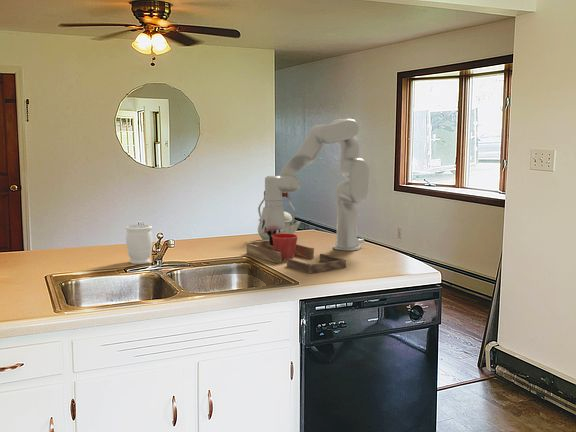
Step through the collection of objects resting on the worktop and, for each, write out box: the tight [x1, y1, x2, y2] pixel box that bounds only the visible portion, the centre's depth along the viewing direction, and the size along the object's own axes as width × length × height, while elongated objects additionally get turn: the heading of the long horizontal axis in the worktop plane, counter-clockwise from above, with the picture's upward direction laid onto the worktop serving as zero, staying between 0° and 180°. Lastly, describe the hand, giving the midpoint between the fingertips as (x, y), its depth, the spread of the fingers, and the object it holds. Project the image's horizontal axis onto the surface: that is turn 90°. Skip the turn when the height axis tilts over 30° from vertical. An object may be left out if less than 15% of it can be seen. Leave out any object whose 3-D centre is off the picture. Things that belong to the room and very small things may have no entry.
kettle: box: [257, 190, 301, 241], centre depth 292 cm, size 25×18×25 cm
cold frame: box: [245, 240, 315, 264], centre depth 259 cm, size 18×25×5 cm
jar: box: [125, 224, 154, 265], centre depth 243 cm, size 11×10×15 cm
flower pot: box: [272, 233, 298, 260], centre depth 255 cm, size 11×11×10 cm
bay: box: [286, 253, 347, 274], centre depth 239 cm, size 18×15×3 cm
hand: (273, 245), depth 262 cm, fingers closed
